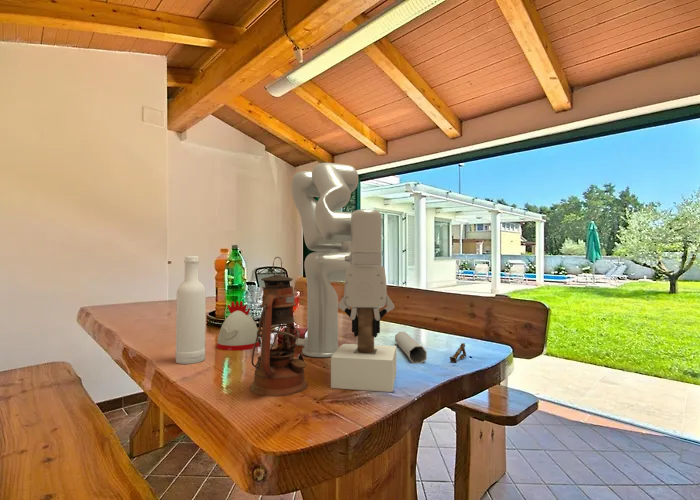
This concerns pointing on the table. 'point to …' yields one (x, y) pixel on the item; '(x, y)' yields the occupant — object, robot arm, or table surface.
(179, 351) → the bottle
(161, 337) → the table surface
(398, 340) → the tube
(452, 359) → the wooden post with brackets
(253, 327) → the white and red dome
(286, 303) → the lantern
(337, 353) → the bore block
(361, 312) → the pin
